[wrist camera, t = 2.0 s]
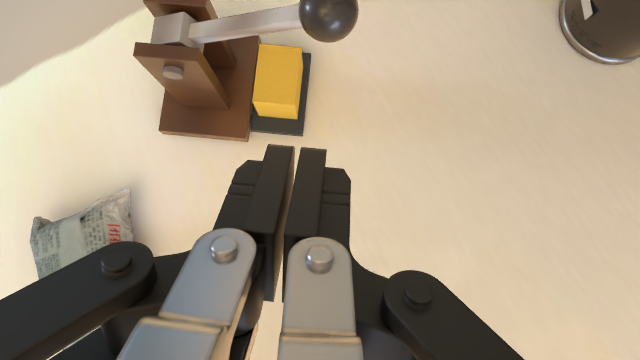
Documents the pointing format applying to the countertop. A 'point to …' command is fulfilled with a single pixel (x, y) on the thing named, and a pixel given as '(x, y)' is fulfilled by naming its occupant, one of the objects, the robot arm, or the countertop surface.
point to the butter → (280, 90)
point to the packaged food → (80, 234)
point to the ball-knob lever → (260, 24)
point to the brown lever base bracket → (202, 78)
